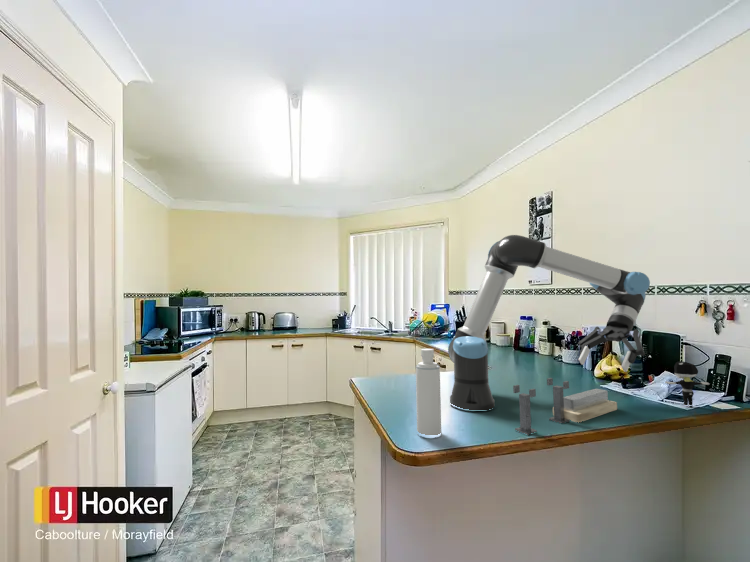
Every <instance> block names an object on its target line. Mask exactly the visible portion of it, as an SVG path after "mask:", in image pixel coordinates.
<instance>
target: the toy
mask: <svg viewBox="0 0 750 562" xmlns="http://www.w3.org/2000/svg"><path fill="white" fill-rule="evenodd" d="M673 368H674V371H673V373H674V375H675V376H676V377H677V379H680V380H678V381H667V380H665V382H664V383H665V384H667V385H680V386H681V387H682V390H681V394H682V398H683V405H692V406H693V397H694V395H695V394H694V391H693V388H694V387H695V386H696V385H697V386H699V385H700V386H701V385H707V386H709V385H710V383H709V382H707V381H701V382H700V381H699V382H698V381H694V380H692V379H691V378H694V377H696V376H697V375H698V374H699V369H698V368H697V366H696V365H695V364H693V363H690V362H686V361H680V360H679V361H677V362H675V364H674V365H673Z"/></svg>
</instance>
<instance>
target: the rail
mask: <svg viewBox="0 0 750 562" xmlns="http://www.w3.org/2000/svg"><path fill="white" fill-rule="evenodd" d="M608 400H609V396H608V390H606V389H601V388H593V389H588V390H585V391H581V392H578V393H573V394H571V395H567V396H564V409H566V410H569V411H573V412H575V411H578V410H581V409H585V408H588V407H591V406H594V405H598V404H601V403H604V402H608Z"/></svg>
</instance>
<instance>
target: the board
mask: <svg viewBox="0 0 750 562" xmlns="http://www.w3.org/2000/svg"><path fill="white" fill-rule="evenodd" d="M617 410H618V401H613V400H609V399H608V402H604V403H601V404H598V405H594V406H591V407H588V408H585V409H581V410H578V411H575V412H573V411H569V410H566V409H564V418H566V419H570V420H571V422H574V423H577V422H578V423H577V424H580V423H582V421H583V422H585V421H588V420H590V419H594V418H596V417H599V416H603V415H605V414H608V413H611V412H614V411H617ZM552 416H554V406H553V407H552ZM579 422H580V423H579Z"/></svg>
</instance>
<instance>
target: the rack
mask: <svg viewBox="0 0 750 562" xmlns="http://www.w3.org/2000/svg"><path fill="white" fill-rule="evenodd" d="M553 384H554V378H553V377H548V378H546V385H547V386H552V395H553V407H554V415H553V416H552V417H551V416H550V417H549V418H548V420H549V421H551V420H552V421H551V422H554V421H555V422H554V423H557V422H559V423H558V424H560V423H564V424H566V423H565V422H567V423H569V421H570V419H566V418H564V397H565V396H564V390H568V389H570V382H569V381H568V380H564V381H563V382H562V386H561V385H554V386H553ZM520 389H521V387H520V385H519V384H516V385H513V386H512V391H513V394H517V393H519V394H518V399H519V400H518V401H519V427H515V428H514V431H515V430H517V431H519V432H518V433H520V432H522V433H525V434H527V435H528V436H530V435H529V434H531V433H534V432H537V433H538V430H537V429H534V428H532V418H531V417H532V416H531V415H532V414H531V398H535V397H537V393H536V388H530V389H528V393H524V392H522V393H521V391H520ZM517 431H516V432H517ZM522 433H521V434H522ZM525 434H524V435H525ZM534 434H535V433H534ZM527 435H526V436H527ZM531 435H532V434H531Z"/></svg>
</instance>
